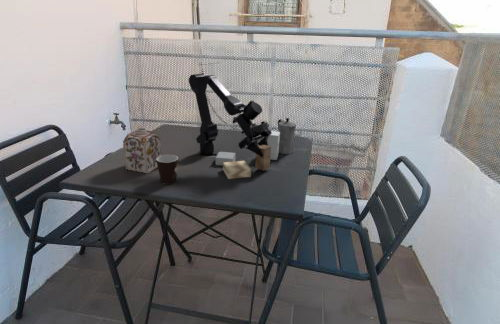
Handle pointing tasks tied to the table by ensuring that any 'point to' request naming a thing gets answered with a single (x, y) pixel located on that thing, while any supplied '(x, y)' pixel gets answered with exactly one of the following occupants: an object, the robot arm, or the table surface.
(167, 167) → the coffee mug
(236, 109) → the robot arm
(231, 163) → the beech block
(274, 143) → the supplement box
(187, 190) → the table surface
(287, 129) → the coffeepot
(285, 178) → the table surface
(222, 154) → the slate block
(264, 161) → the walnut block
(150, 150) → the decorative jar
